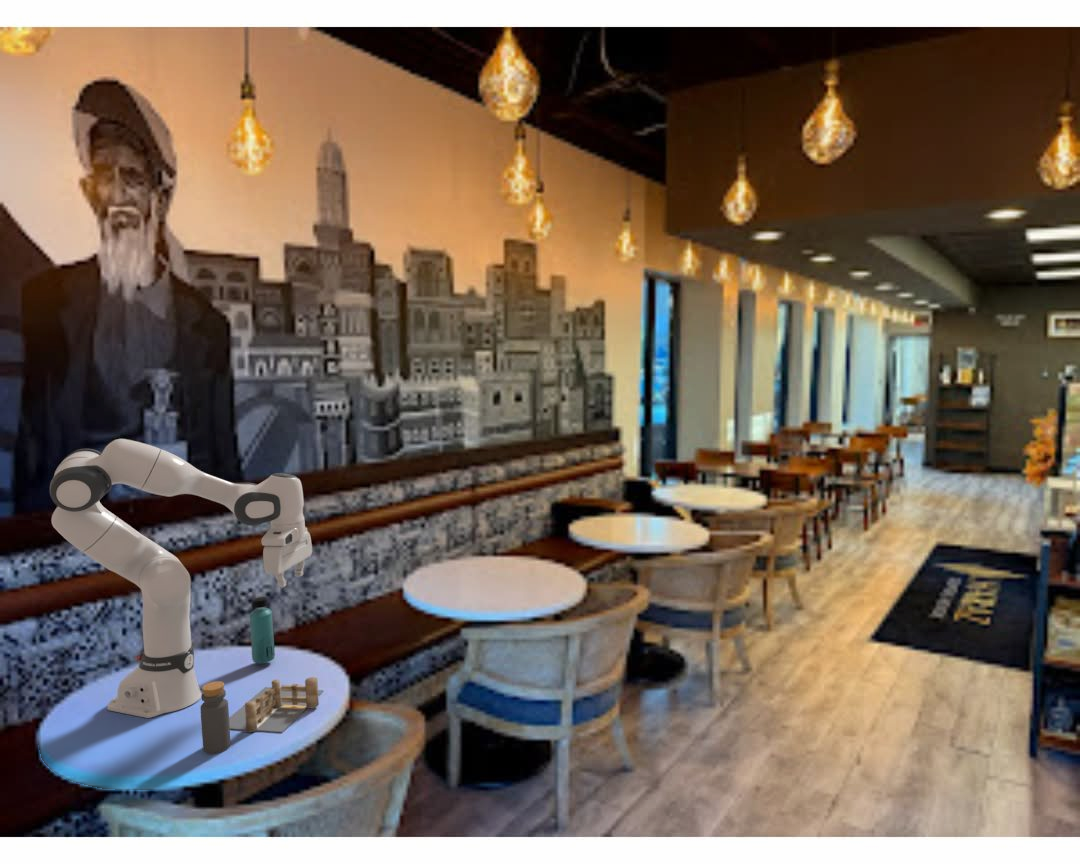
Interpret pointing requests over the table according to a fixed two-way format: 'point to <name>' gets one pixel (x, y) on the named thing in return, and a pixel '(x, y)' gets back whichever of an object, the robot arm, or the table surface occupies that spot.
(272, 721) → the card
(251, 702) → the fence fixed
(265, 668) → the table surface
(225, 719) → the bottle
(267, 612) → the beverage bottle
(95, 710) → the table surface
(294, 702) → the fence gate
